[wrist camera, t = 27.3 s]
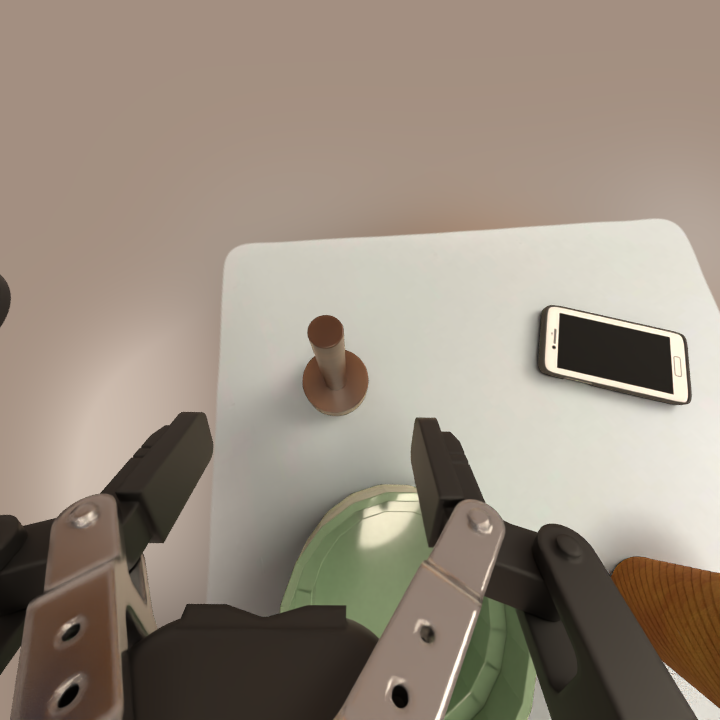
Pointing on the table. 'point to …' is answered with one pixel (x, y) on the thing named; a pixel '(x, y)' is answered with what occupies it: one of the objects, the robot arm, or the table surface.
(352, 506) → the mixing bowl
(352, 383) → the wooden rod on disc
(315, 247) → the table surface
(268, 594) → the table surface
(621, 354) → the cell phone
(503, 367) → the table surface
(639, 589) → the disposable coffee cup
